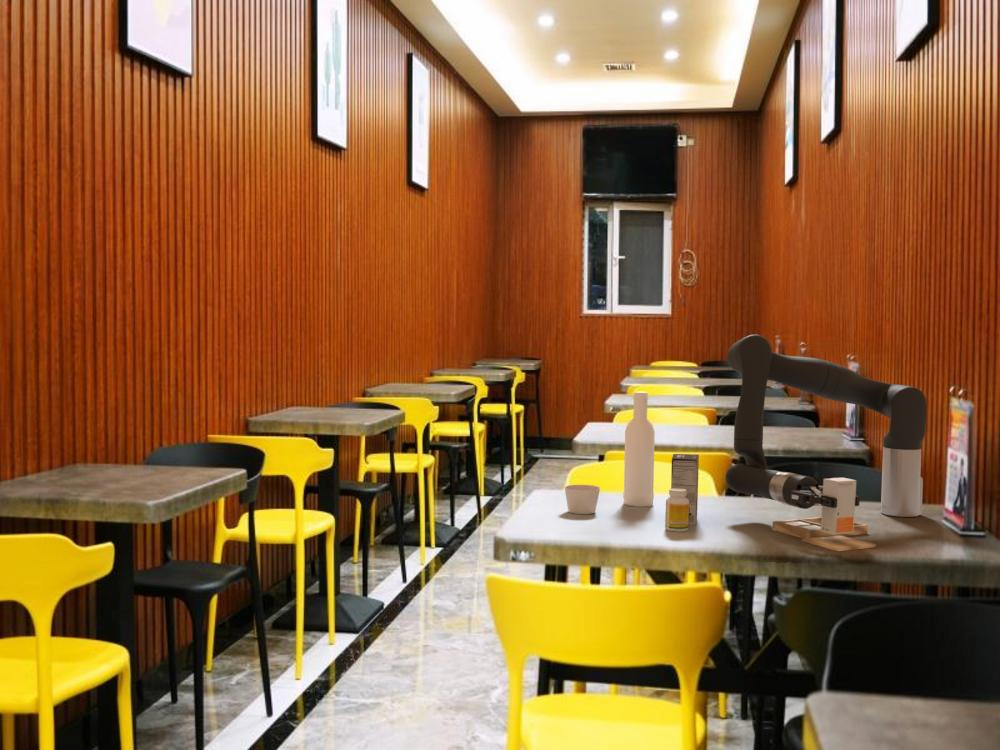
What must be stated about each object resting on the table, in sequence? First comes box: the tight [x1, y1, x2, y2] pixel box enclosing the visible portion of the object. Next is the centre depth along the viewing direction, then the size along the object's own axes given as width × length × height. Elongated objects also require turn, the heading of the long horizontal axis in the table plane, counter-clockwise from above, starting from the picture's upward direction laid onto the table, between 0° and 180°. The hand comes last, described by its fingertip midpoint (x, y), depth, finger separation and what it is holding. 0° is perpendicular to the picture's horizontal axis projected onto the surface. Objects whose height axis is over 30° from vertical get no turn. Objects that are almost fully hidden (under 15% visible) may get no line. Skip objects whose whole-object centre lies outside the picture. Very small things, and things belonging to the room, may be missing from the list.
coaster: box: [801, 535, 877, 552], centre depth 228 cm, size 11×11×1 cm
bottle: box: [622, 391, 656, 508], centre depth 275 cm, size 8×8×30 cm
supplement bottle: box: [664, 487, 689, 533], centre depth 242 cm, size 5×5×10 cm
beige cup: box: [564, 484, 601, 515], centre depth 263 cm, size 9×9×6 cm
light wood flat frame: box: [772, 516, 869, 539], centre depth 242 cm, size 18×12×2 cm, turn 117°
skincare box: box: [820, 477, 857, 535], centre depth 228 cm, size 6×4×12 cm
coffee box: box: [670, 453, 700, 526], centre depth 252 cm, size 9×6×16 cm
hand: (847, 502), depth 226 cm, fingers closed on skincare box, 6 cm apart
